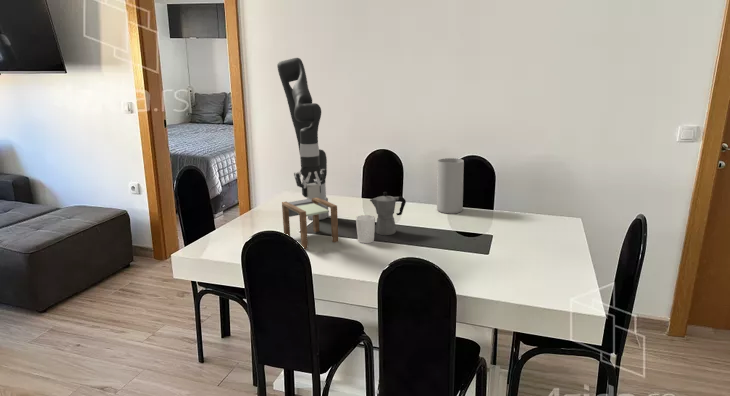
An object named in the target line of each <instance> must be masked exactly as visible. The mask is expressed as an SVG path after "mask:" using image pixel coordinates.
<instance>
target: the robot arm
mask: <svg viewBox="0 0 730 396" xmlns="http://www.w3.org/2000/svg"><path fill="white" fill-rule="evenodd" d="M277 71H278V75H279V78H280V82H281V84H282V88H283V91H284V94H285V98H286V101H287V105H288V109H289V114H290V118H291V121H292V125H293V127H294V131H295V134H296V140H297V145H298V151H299V156H300V157H299V158H300V170H299V171H298V172H294V173H293V176H294V179H295V183H296V186H297V187H299V188H301V195H302V196H303V198H306V197H307V188H306V187H307V184H309V183H316V184H318V185H320V197H318V198H321V199H323V200H325V201H327V202H329V198H328V197H327V186H326V183H327V182H326V181H327V180H326V178H327V172H328V165H327V163H328V160H327V159H328V158H327V157H328V156H327V153H326V152H325V151H324V150H323V149H320V147H319V138H318V137H319V133H318V132H319V127H320V122H321V117H322V108H321V106H320V105H319V104H318V103H313V98H312V94H311V93H310V89H309V84H308V79H307V73H306V69H305V65H304V63H303V60H302V59H301V58H299V57H294V58H289V59H285V60H281V61H279V62H277ZM294 81H295V84H294V85H293V88H292V86H291V84H290V83H291V82H294ZM301 177H302V179H301ZM306 199H308V198H306ZM308 200H311V201H312V198H311V199H308ZM318 205H319V206H321V207H323V208H325V209H327V210H329V207H328V206H325V205H323V204H321V203H319V202H318ZM329 213H330V211H329V212H328V213H322V214H319V221H320V220H325V219H327V218H330V217H329V216H330V215H329ZM308 219H309V220H311V221H313V215H312V216H307V220H308Z"/></svg>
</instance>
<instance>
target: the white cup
mask: <svg viewBox="0 0 730 396" xmlns="http://www.w3.org/2000/svg"><path fill="white" fill-rule="evenodd" d="M355 224H356V227H355V228H356V233H357V241H358V243H360V244H370V243H372V242H374V241H375V234H376V232H375V229H376V216H374V215H371V214H362V215H361V214H360V215H358V216H356V217H355Z"/></svg>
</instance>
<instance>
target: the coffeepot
mask: <svg viewBox="0 0 730 396" xmlns="http://www.w3.org/2000/svg"><path fill="white" fill-rule="evenodd" d="M382 193H383V195H380V196H377V197H374V198H371V199H369V201H370V202H371V204H372V205H373V206H374V208H375V213H376V214H377V218H376V221H375V234H377V235H378V236H379V235H380V236H390V235H394V234H396V233H397V227H396V221H395V218H394V214H395V210H396V209H395V208H396V203H397V202H401V203H400V208H399V212H397V213H396V216H401V215H403V211H404V209H405V206H406V202H407V201H406V199H405V198H404V197H403V196H391V195H388V192H387V191H384V192H382Z"/></svg>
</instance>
